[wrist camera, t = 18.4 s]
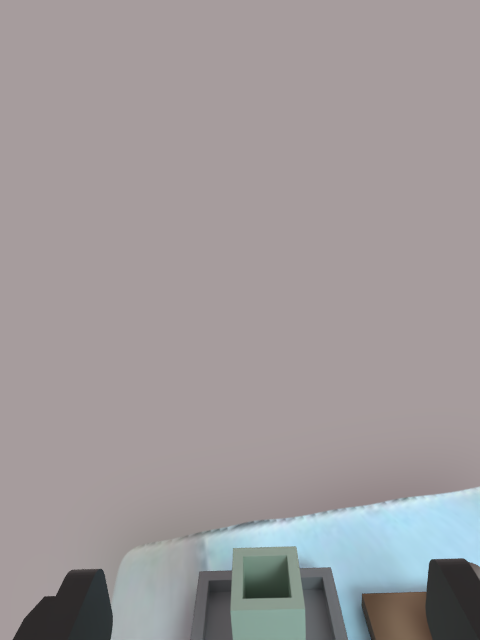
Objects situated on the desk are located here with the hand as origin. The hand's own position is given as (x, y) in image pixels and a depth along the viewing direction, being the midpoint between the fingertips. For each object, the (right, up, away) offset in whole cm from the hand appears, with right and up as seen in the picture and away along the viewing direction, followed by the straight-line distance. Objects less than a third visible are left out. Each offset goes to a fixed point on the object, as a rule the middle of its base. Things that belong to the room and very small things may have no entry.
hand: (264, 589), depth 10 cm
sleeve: (+2, -22, +22) cm, 31 cm away
